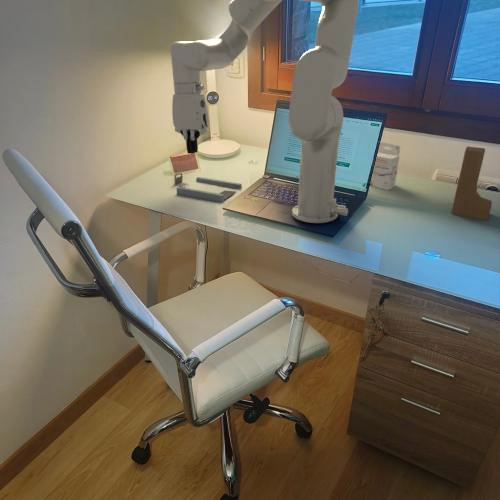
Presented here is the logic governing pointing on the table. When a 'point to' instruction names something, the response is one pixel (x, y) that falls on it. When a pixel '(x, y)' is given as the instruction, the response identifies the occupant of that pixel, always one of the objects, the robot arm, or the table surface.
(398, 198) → the table surface
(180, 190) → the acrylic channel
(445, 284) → the table surface
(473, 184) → the wooden block
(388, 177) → the ink cartridge box
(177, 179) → the strap clip
